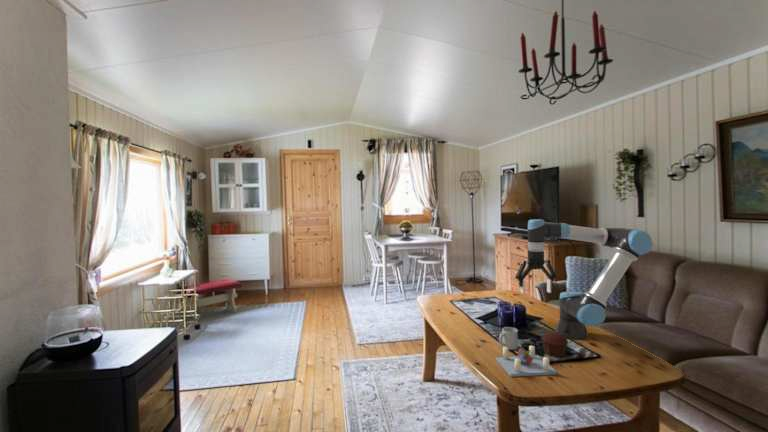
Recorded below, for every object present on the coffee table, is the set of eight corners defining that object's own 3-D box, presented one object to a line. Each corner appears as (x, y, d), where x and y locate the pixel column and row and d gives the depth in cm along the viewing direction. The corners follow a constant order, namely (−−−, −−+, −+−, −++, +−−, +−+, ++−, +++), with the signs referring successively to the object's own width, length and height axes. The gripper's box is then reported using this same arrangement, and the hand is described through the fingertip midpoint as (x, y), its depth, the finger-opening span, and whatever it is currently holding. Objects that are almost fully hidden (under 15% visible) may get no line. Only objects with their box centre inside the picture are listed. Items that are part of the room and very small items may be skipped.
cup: (520, 348, 178) (520, 330, 178) (504, 352, 174) (504, 333, 174) (510, 343, 185) (510, 326, 184) (494, 346, 181) (494, 328, 181)
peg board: (538, 357, 167) (538, 344, 167) (557, 374, 151) (557, 359, 151) (495, 359, 166) (495, 346, 166) (510, 376, 150) (510, 362, 150)
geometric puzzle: (540, 361, 156) (531, 343, 160) (530, 365, 152) (521, 347, 156) (529, 366, 161) (519, 348, 165) (519, 370, 157) (510, 352, 161)
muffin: (554, 347, 179) (554, 327, 179) (573, 355, 169) (573, 334, 169) (535, 351, 175) (535, 330, 175) (554, 360, 165) (554, 338, 164)
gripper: (556, 248, 184) (555, 290, 185) (508, 250, 183) (508, 291, 183) (564, 250, 177) (564, 293, 178) (514, 252, 175) (514, 295, 176)
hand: (535, 292), depth 181 cm, fingers open, 13 cm apart
